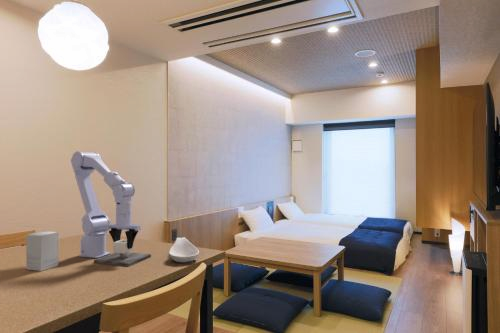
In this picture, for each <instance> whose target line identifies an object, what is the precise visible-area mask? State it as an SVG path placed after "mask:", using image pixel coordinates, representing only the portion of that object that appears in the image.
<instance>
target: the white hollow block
mask: <svg viewBox="0 0 500 333" xmlns="http://www.w3.org/2000/svg"><path fill="white" fill-rule="evenodd" d="M133 251H134V245H133V246H132V248H130V249H128V248H127V239H120V240H119V241H116V242H112V254H113V253H124V254H125V253H128V252H133Z"/></svg>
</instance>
